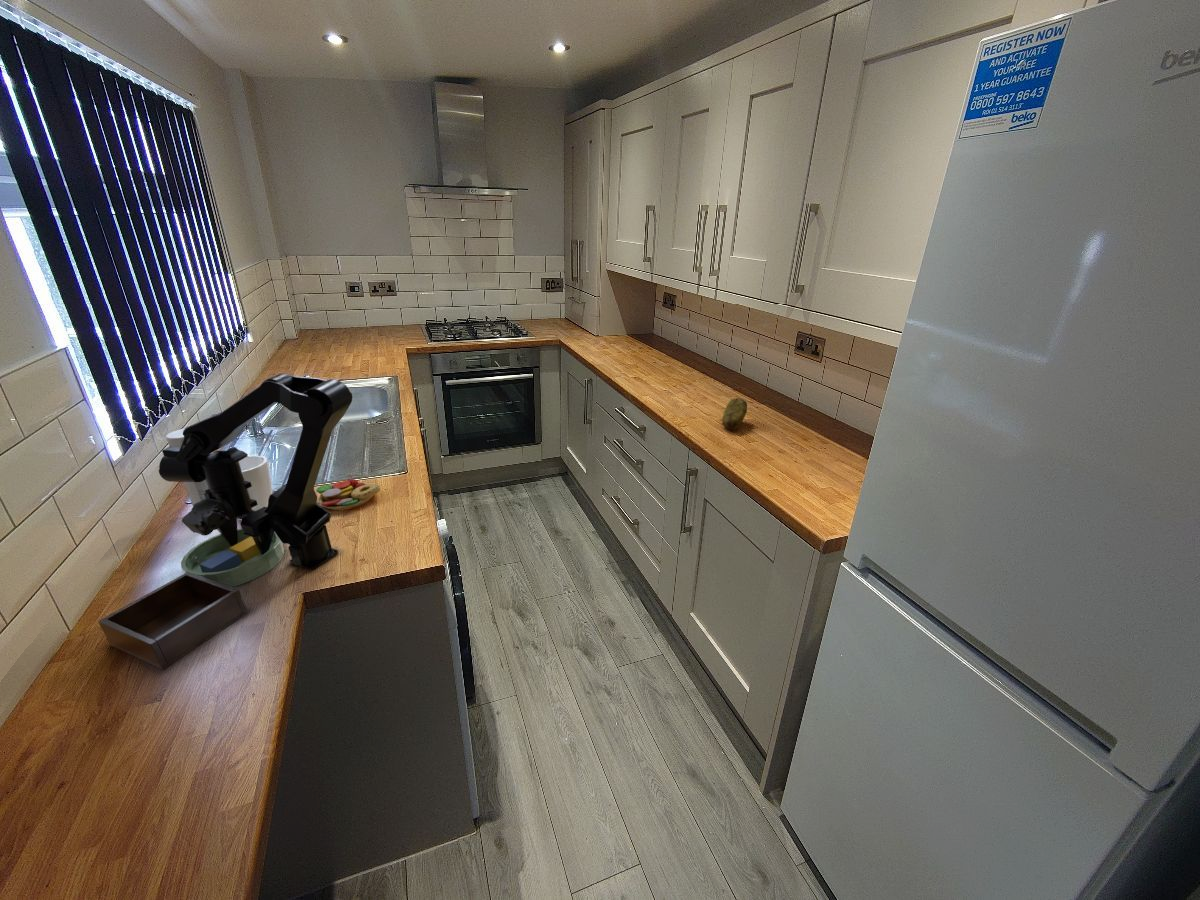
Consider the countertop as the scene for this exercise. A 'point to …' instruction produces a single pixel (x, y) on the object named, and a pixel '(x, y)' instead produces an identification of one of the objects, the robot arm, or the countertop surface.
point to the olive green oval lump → (734, 413)
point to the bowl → (238, 574)
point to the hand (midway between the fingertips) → (249, 549)
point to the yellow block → (245, 549)
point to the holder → (173, 619)
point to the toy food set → (346, 494)
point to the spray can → (193, 488)
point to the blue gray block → (220, 562)
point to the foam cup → (257, 479)
